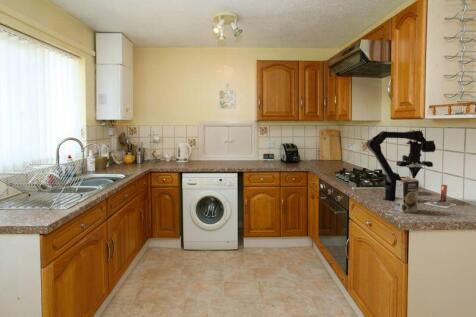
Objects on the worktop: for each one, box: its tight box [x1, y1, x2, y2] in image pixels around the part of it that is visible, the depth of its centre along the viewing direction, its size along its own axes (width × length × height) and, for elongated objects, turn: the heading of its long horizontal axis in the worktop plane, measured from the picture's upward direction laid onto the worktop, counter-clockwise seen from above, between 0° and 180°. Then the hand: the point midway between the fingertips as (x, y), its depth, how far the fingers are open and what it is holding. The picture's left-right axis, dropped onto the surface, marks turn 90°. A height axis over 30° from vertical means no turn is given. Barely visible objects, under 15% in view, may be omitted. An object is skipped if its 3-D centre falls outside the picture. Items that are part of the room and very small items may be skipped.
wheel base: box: [423, 201, 457, 209], centre depth 194 cm, size 12×12×1 cm
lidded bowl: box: [400, 176, 419, 181], centre depth 224 cm, size 13×13×11 cm
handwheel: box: [429, 184, 451, 205], centre depth 194 cm, size 11×10×10 cm
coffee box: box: [394, 180, 420, 214], centre depth 179 cm, size 9×6×16 cm
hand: (413, 178), depth 204 cm, fingers closed
